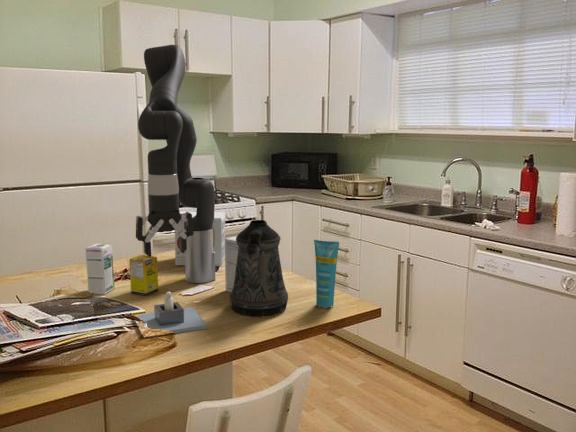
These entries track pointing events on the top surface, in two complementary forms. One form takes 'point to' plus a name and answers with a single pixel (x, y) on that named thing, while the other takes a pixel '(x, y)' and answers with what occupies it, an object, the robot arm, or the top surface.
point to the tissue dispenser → (169, 314)
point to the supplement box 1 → (143, 275)
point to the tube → (325, 271)
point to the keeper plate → (190, 323)
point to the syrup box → (100, 268)
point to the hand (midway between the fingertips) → (165, 254)
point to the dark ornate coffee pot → (258, 273)
